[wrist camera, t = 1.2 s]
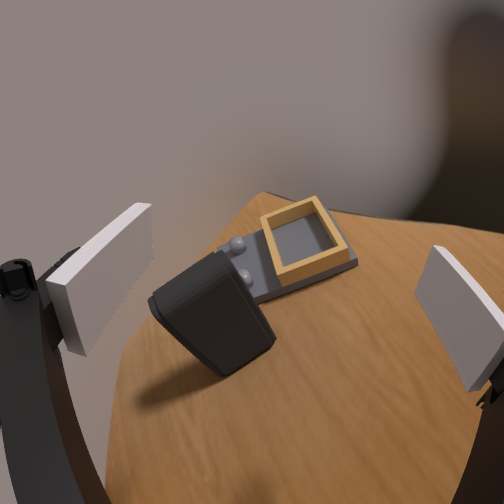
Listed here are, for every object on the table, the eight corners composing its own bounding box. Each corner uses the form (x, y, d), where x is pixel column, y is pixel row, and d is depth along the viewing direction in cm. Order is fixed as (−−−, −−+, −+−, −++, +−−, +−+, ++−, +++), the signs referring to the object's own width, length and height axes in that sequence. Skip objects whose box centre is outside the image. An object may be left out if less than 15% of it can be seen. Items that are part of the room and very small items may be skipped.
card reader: (267, 321, 39) (218, 240, 30) (282, 341, 36) (235, 260, 27) (210, 359, 38) (143, 291, 29) (222, 382, 35) (151, 317, 26)
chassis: (326, 211, 51) (321, 193, 48) (358, 265, 40) (354, 244, 38) (220, 253, 53) (210, 237, 51) (226, 314, 43) (214, 298, 40)
